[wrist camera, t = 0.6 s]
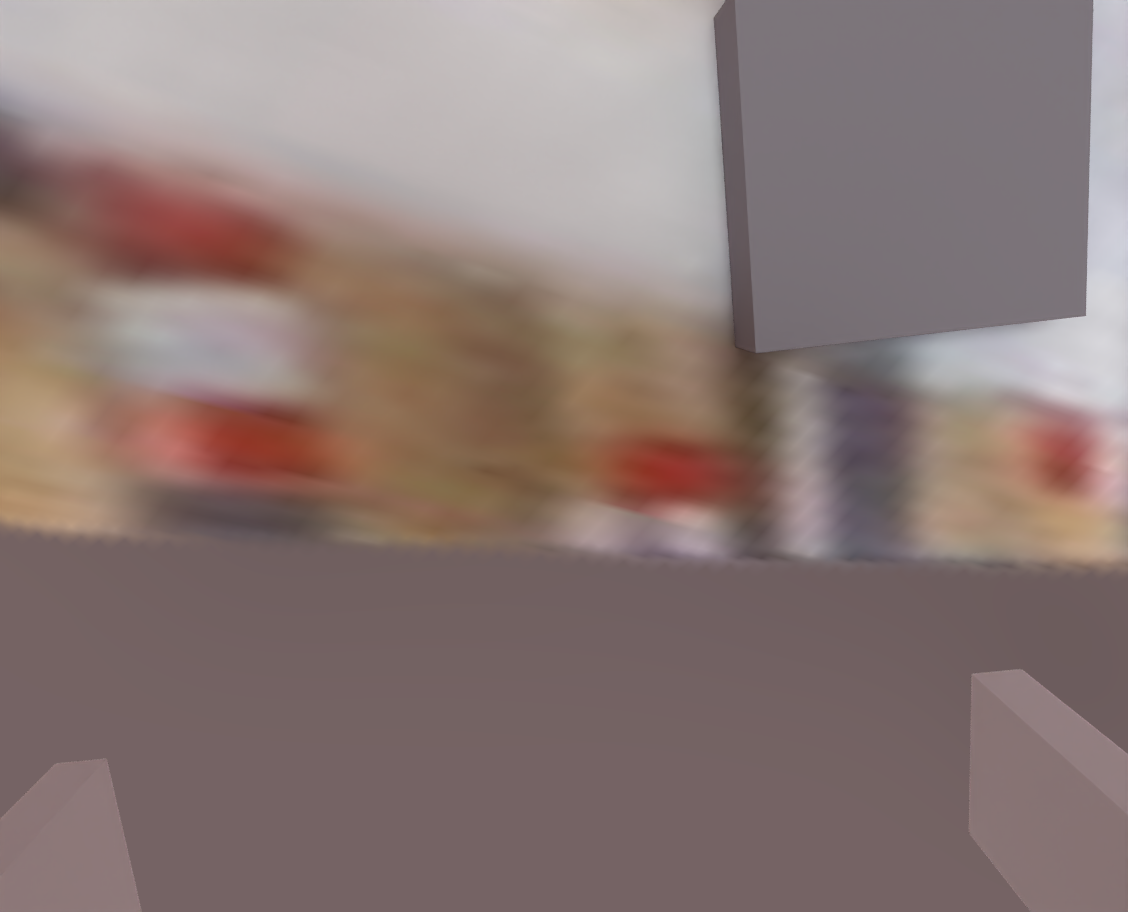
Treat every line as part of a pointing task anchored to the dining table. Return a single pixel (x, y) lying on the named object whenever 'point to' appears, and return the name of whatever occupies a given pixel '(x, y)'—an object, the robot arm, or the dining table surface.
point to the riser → (903, 165)
